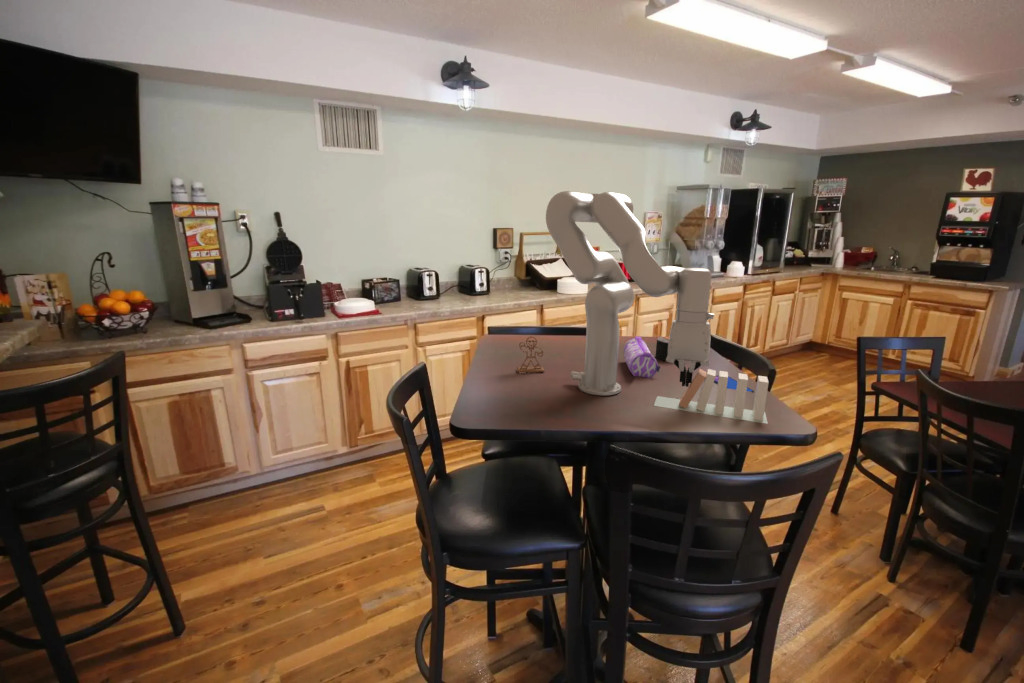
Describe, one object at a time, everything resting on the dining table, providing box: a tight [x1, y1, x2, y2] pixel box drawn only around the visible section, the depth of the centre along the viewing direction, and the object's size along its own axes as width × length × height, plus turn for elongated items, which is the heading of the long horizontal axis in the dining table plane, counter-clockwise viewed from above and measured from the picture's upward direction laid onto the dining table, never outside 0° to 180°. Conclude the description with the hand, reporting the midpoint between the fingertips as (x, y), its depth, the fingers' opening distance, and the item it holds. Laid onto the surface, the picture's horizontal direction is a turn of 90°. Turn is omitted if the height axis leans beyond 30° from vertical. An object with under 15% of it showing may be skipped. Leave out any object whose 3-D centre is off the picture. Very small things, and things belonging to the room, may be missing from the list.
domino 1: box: [679, 368, 707, 409], centre depth 123 cm, size 2×5×10 cm, turn 156°
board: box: [653, 395, 769, 425], centre depth 122 cm, size 27×8×1 cm, turn 66°
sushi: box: [654, 335, 670, 362], centre depth 173 cm, size 8×8×8 cm
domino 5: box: [752, 375, 770, 421], centre depth 117 cm, size 2×5×10 cm, turn 156°
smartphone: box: [714, 375, 755, 393], centre depth 145 cm, size 7×1×15 cm
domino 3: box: [714, 370, 729, 414], centre depth 120 cm, size 2×5×10 cm, turn 156°
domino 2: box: [696, 368, 717, 411], centre depth 122 cm, size 2×5×10 cm, turn 156°
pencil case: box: [623, 336, 661, 379], centre depth 158 cm, size 22×9×10 cm, turn 175°
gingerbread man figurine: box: [516, 336, 546, 373], centre depth 154 cm, size 9×4×12 cm, turn 95°
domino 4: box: [733, 372, 749, 418], centre depth 118 cm, size 2×5×10 cm, turn 156°
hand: (685, 384), depth 123 cm, fingers closed
